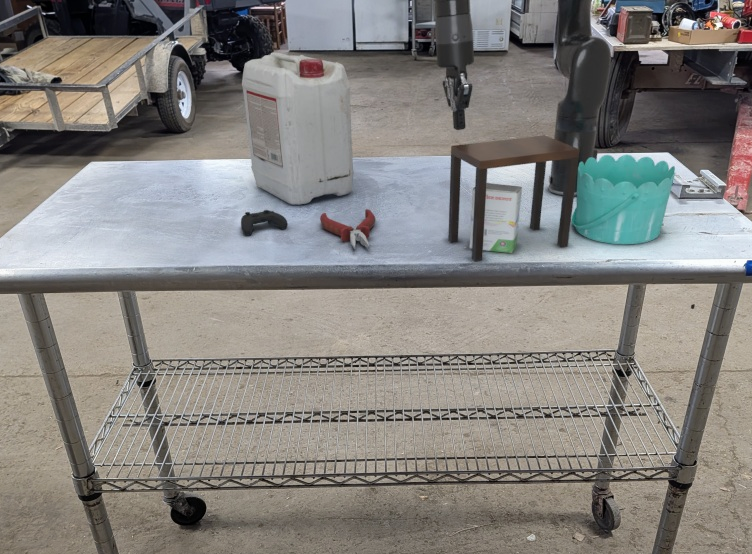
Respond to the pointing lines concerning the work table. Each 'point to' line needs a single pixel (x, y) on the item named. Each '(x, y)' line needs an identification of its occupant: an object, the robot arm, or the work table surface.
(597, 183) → the basket
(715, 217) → the work table surface
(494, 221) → the ink box
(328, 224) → the pliers
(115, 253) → the work table surface
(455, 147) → the small table
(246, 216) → the gaming controller
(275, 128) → the jerry can
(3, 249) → the work table surface
